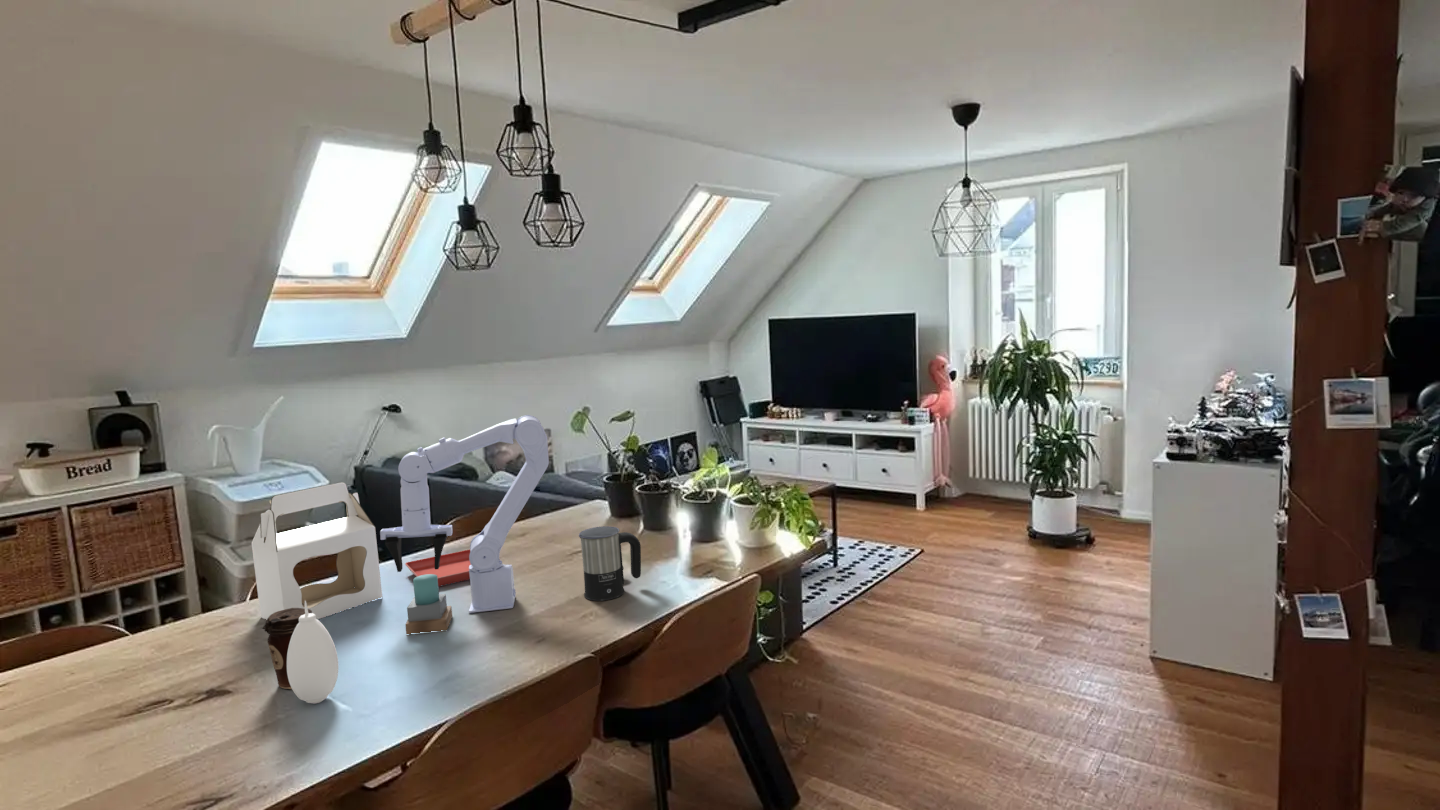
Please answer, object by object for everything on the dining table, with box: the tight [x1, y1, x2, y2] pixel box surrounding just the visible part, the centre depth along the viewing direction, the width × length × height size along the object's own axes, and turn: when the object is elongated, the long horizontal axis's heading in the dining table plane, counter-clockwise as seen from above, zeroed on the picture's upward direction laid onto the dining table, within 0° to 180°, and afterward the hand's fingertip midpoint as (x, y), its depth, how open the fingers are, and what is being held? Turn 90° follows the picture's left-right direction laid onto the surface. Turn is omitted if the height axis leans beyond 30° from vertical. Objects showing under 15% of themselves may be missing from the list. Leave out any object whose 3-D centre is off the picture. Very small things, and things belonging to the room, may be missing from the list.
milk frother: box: [578, 525, 642, 602], centre depth 185 cm, size 14×16×15 cm
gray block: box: [406, 593, 448, 622], centre depth 168 cm, size 6×6×3 cm
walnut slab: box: [405, 605, 453, 634], centre depth 168 cm, size 8×8×3 cm
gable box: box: [251, 481, 383, 621], centre depth 181 cm, size 22×13×28 cm, turn 141°
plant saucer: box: [404, 548, 471, 587], centre depth 201 cm, size 18×18×3 cm
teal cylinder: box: [412, 574, 440, 605], centre depth 167 cm, size 5×5×5 cm
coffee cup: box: [262, 608, 317, 690], centre depth 144 cm, size 9×8×13 cm
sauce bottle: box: [287, 601, 340, 705], centre depth 136 cm, size 8×8×18 cm
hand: (418, 569), depth 173 cm, fingers open, 7 cm apart
